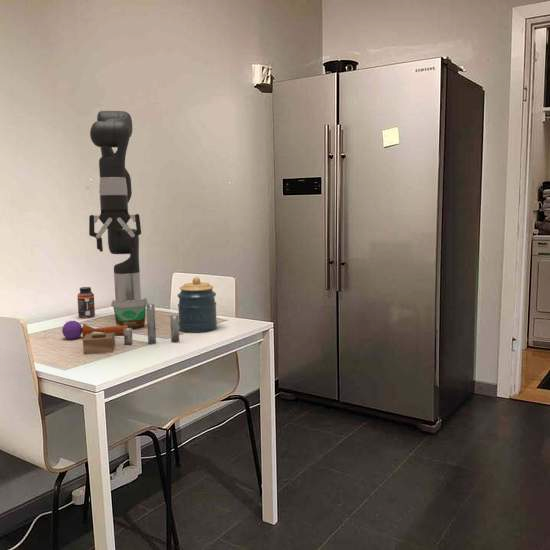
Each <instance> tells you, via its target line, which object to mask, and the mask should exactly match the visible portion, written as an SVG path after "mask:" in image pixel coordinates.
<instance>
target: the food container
mask: <svg viewBox="0 0 550 550" xmlns="http://www.w3.org/2000/svg"><path fill="white" fill-rule="evenodd" d="M147 304H149V302H148V298H147V297H145V298H141V300H127V301H116V300H113V299H112V302H111V305H110V307H112V308H113V313H114V319H115V323H116V326H123V325H128V328H132V331H134V330H139V329H140V330H141V329H143V328H145V325H146V311H147V308H146V305H147Z"/></svg>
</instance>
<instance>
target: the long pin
mask: <svg viewBox="0 0 550 550" xmlns="http://www.w3.org/2000/svg"><path fill="white" fill-rule="evenodd" d="M155 309H156V308H155V303H148V304H146V321H147V322H146V323H147V324H146V327H147V344H148V343H149V345H155V344H156V343H157V336H156V335H157V334H156V331H157V330H156V310H155ZM154 343H155V344H154Z"/></svg>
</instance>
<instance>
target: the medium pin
mask: <svg viewBox="0 0 550 550" xmlns="http://www.w3.org/2000/svg"><path fill="white" fill-rule="evenodd" d="M169 317H170V337H171V338H170V339H171V340H170V341H171V343H174V342H175V343H179V342H180V329H179V315H176V314H175V315H170V316H169ZM178 341H179V342H178Z"/></svg>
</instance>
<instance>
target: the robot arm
mask: <svg viewBox="0 0 550 550" xmlns="http://www.w3.org/2000/svg"><path fill="white" fill-rule="evenodd" d="M132 134H133V120H132V117H131V114H130V113H129V112H127V111H124V110H100V111H98V113H97V117H96V121H95V122H93V123H92V125H91V127H90V130H89V135H90V139H91V142H92V143H93V145H95V146H96V147H97V148H100V152H101V153H100V154H101V157H100V158H98V159H99V160H98V168H99V186H98V187H99V190H98V191H99V202H100V203H99V204H100V214H99V215H94V214H91V215H89V219H88V221H89V223H88V225H89V226H88V227H89V230H88V233H89V236H90V237H93V238H95V239H96V249H97V250H99V252H104V249H103V248H104V247H103V246H104V245H103V238H102V236H103V234H104V233H105V232H106V230H107V243H108V244H107V245H108V250H109V253H111V255H130V256H129V257H128V258H127V259H126V260H124V261H122V262H120V263H116V264H115V265H114V266H113V278H114V294H115V295H114V296H115V298H114V299H115V300H114V301H127V300H142V294H141V289H142V287H141V275H140V274H141V273H140V271H141V270H140V253H139V252H140V238H139V236H140V235H142V227H141V218H140V214H139V213H135V214H130V213H129V202H130V200H131V198H132V193H133V191H132V190H133V189H132V180H131V179H132V178H131V175H130V173H129V171H128V170H127V168H126V154H127V151H128V145H129V143H130V138H131V137H132ZM113 148H117V149H116V150H115V151H114V150H113ZM130 219H131V220H132V222H133V223H135V228H130V226H129V224H128V223H129V221H130ZM98 220H99V221H100V222H101V223H102V226H101V228H100V229H99V231H98V232H95V224H96V223H97V222H98Z"/></svg>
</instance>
